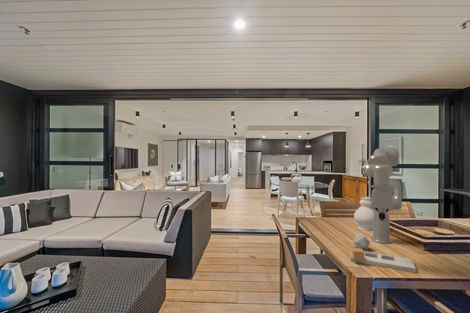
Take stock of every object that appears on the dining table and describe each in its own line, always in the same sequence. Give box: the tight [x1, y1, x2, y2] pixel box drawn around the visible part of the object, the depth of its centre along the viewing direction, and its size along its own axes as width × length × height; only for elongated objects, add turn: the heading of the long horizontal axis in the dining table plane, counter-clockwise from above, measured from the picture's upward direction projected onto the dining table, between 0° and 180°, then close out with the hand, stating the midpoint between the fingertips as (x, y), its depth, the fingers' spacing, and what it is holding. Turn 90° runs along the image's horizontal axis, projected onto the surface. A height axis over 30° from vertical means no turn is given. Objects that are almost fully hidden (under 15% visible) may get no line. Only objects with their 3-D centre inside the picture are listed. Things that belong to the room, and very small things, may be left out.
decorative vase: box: [353, 196, 373, 231], centre depth 195 cm, size 18×18×25 cm
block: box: [351, 247, 365, 261], centre depth 131 cm, size 5×5×4 cm
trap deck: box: [350, 251, 417, 273], centre depth 131 cm, size 13×29×2 cm, turn 62°
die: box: [352, 234, 371, 250], centre depth 151 cm, size 8×9×10 cm
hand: (382, 219), depth 135 cm, fingers closed
